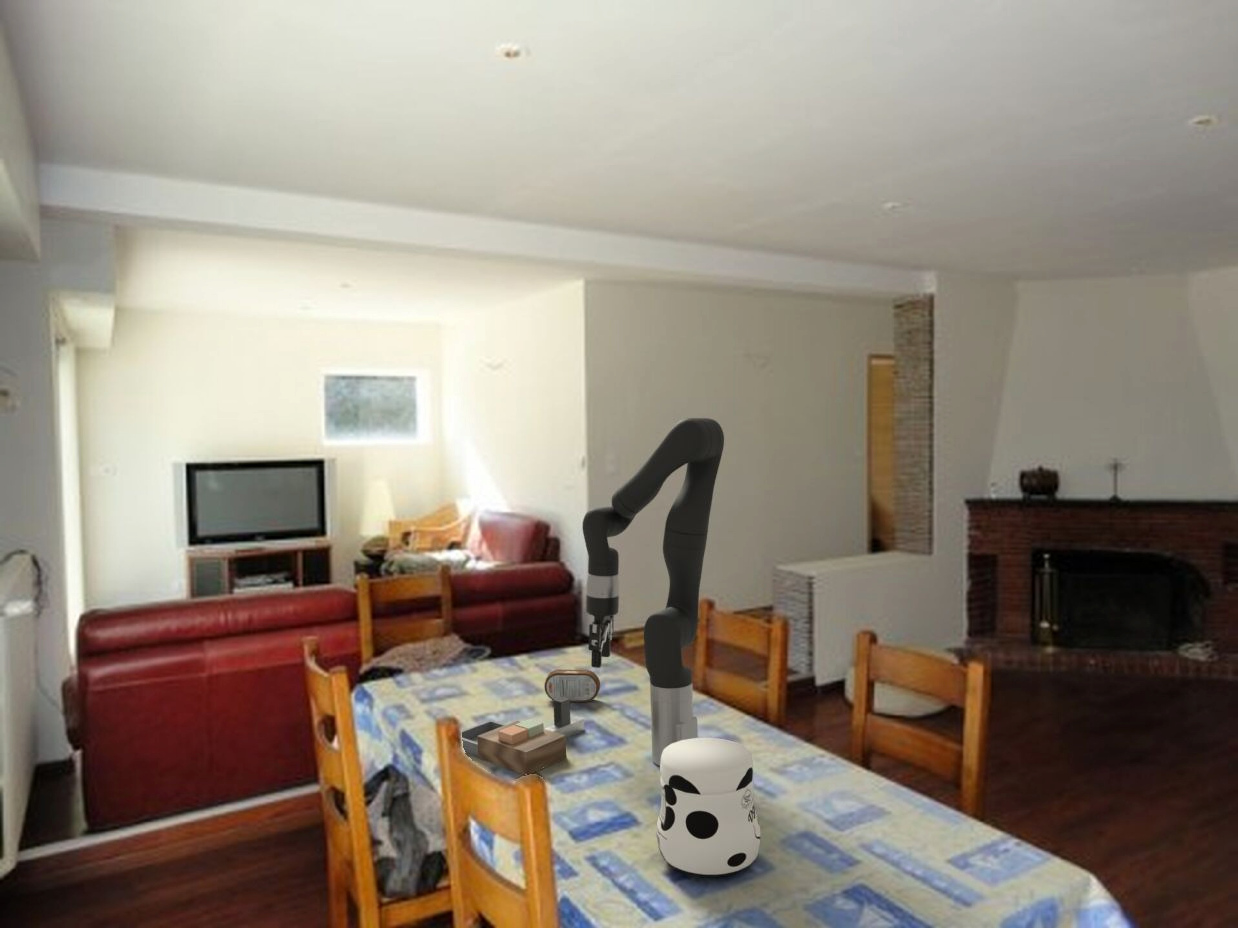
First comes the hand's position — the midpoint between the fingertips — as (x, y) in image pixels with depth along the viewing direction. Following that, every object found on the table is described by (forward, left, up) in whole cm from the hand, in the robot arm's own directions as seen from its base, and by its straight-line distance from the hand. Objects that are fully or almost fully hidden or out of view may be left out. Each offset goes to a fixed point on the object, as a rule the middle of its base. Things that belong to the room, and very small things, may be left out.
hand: (600, 661), depth 193 cm
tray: (+21, +18, -19) cm, 34 cm away
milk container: (-50, +29, -19) cm, 61 cm away
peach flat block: (+8, +20, -14) cm, 26 cm away
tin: (+26, -17, -19) cm, 37 cm away
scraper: (+10, +3, -19) cm, 22 cm away
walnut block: (+8, +18, -19) cm, 27 cm away
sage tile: (+8, +15, -14) cm, 22 cm away
